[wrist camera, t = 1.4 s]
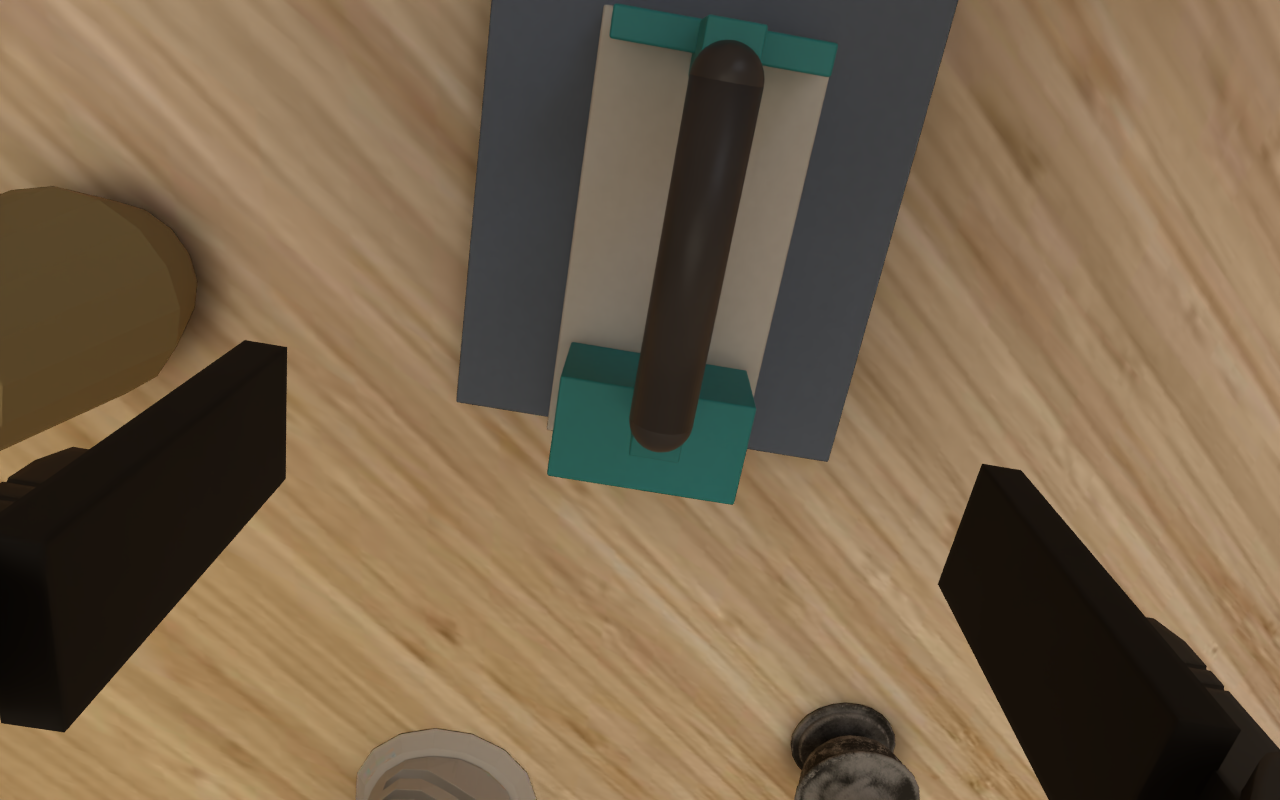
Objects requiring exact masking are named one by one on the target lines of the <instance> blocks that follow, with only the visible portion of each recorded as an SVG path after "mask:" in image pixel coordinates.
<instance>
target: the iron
mask: <svg viewBox="0 0 1280 800" xmlns="http://www.w3.org/2000/svg"><path fill="white" fill-rule="evenodd" d="M767 30H768V26H767V25H766V24H761V23H755V22H750V21H744V20H739V19H733V18H728V17H722V16H716V15H711V14H710V15H707V16H706V17H704V18H703V19H701V18H695V17H690V16H684V15H679V14H673V13H668V12H662V11H657V10H651V9H646V8H640V7H635V6H629V5H624V4H618V3H616V4H614V6H612V5H604V8H603V15H602V22H601V30H600V37H599V45H598V52H597V60H596V67H595V74H594V82H593V89H592V97H591V104H590V111H589V119H588V126H587V134H586V141H585V149H584V156H583V163H582V171H581V178H580V186H579V193H578V200H577V208H576V215H575V223H574V230H573V238H572V245H571V252H570V260H569V267H568V275H567V282H566V289H565V297H564V304H563V312H562V319H561V327H560V334H559V341H558V349H557V356H556V364H555V371H554V379H553V386H552V393H551V401H550V408H549V416H548V423H547V430H551V431H553V434H552V441H551V448H550V456H549V463H548V470H547V474H548V475H549V476H554V477H560V478H567V479H573V480H579V481H586V482H592V483H598V484H605V485H611V486H617V487H623V488H630V489H636V490H642V491H649V492H655V493H661V494H668V495H674V496H680V497H686V498H693V499H699V500H705V501H712V502H718V503H724V504H731V505H733V504H734V501H735V497H736V493H737V489H738V484H739V480H740V476H741V472H742V468H743V464H744V459H745V455H746V451H747V447H748V443H749V438H750V434H751V430H752V426H753V422H754V417H755V413H756V406H755V402H754V393H755V389H756V385H757V381H758V377H759V372H760V368H761V364H762V360H763V355H764V351H765V347H766V343H767V338H768V334H769V330H770V326H771V321H772V317H773V313H774V309H775V305H776V300H777V296H778V292H779V288H780V283H781V279H782V275H783V271H784V266H785V262H786V258H787V254H788V249H789V245H790V241H791V237H792V232H793V228H794V224H795V220H796V216H797V211H798V207H799V203H800V199H801V194H802V190H803V186H804V182H805V177H806V173H807V169H808V165H809V160H810V156H811V152H812V148H813V144H814V139H815V135H816V131H817V127H818V122H819V118H820V114H821V110H822V105H823V101H824V97H825V93H826V88H827V84H828V80H829V77H830V76H831V74H832V70H833V66H834V62H835V57H836V53H837V49H838V44H837V43H834V42H828V41H822V40H817V39H811V38H806V37H800V36H795V35H789V34H784V33H778V32H773V31H767Z"/></svg>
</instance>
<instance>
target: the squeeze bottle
mask: <svg viewBox="0 0 1280 800" xmlns="http://www.w3.org/2000/svg"><path fill="white" fill-rule="evenodd" d="M196 290H197V279H196V275H195V272H194V269H193V265H192V262H191V258H190V255H189V253H188V252H187V250H186V249H185V248H184V246H183V245H182V243H181V242H180V241H179V239H178V238H177V237H176V235H175V234H174V232H173V231H172V230H171V228H169V227H168V226H166V225H165V224H164V223H162V222H161V221H159V220H158V219H157V218H155V217H154V216H153V215H151V214H150V213H148V212H147V211H146V210H143V209H140V208H137V207H133V206H130V205H127V204H124V203H120V202H117V201H113V200H109V199H105V198H101V197H96V196H92V195H88V194H84V193H80V192H75V191H71V190H67V189H63V188H59V187H55V186H51V187H40V188H29V189H18V190H10V191H8V192H5V193H2V194H0V451H1V450H3V449H5V448H8V447H10V446H12V445H14V444H16V443H18V442H21V441H23V440H25V439H27V438H29V437H32V436H34V435H36V434H38V433H40V432H43V431H45V430H47V429H49V428H51V427H53V426H56V425H58V424H60V423H62V422H64V421H67V420H69V419H71V418H73V417H75V416H78V415H80V414H82V413H84V412H86V411H89V410H91V409H93V408H95V407H97V406H99V405H102V404H104V403H106V402H108V401H110V400H113V399H115V398H117V397H119V396H121V395H124V394H126V393H128V392H129V391H131V390H133V389H135V388H137V387H138V386H140V385H142V384H144V383H146V382H148V381H149V380H151V379H153V378H155V377H157V375H158V374H159V372H160V371H161V369H162V368H163V366H164V365H165V363H166V362H167V360H168V359H169V357H170V356H171V354H172V352H173V351H174V349H175V348H176V346H177V344H178V342H179V340H180V338H181V335H182V333H183V331H184V329H185V327H186V325H187V323H188V320H189V318H190V316H191V314H192V312H193V310H194V308H195V299H196Z"/></svg>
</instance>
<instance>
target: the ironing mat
mask: <svg viewBox="0 0 1280 800" xmlns="http://www.w3.org/2000/svg"><path fill="white" fill-rule="evenodd" d="M616 3H618V4H624V5H629V6H635V7H640V8H646V9H651V10H657V11H662V12H668V13H673V14H679V15H684V16H690V17H695V18H701V19H703V18H704V17H706V16H707V15H710V14H711V15H716V16H722V17H728V18H733V19H739V20H744V21H750V22H755V23H761V24H766V25H767V26H768V30H767V31H773V32H778V33H784V34H789V35H795V36H800V37H806V38H811V39H817V40H822V41H828V42H834V43H837V44H838V49H837V53H836V57H835V62H834V66H833V70H832V74H831V76H830V77H829V80H828V84H827V88H826V93H825V97H824V101H823V105H822V110H821V114H820V118H819V122H818V127H817V131H816V135H815V139H814V144H813V148H812V152H811V156H810V160H809V165H808V169H807V173H806V177H805V182H804V186H803V190H802V194H801V199H800V203H799V207H798V211H797V216H796V220H795V224H794V228H793V232H792V237H791V241H790V245H789V249H788V254H787V258H786V262H785V266H784V271H783V275H782V279H781V283H780V288H779V292H778V296H777V300H776V305H775V309H774V313H773V317H772V321H771V326H770V330H769V334H768V338H767V343H766V347H765V351H764V355H763V360H762V364H761V368H760V372H759V377H758V381H757V385H756V389H755V393H754V402H755V406H756V413H755V417H754V422H753V426H752V430H751V434H750V438H749V443H748V447H747V449H751V450H757V451H764V452H770V453H776V454H782V455H788V456H795V457H801V458H807V459H813V460H819V461H826V462H828V460H829V456H830V453H831V449H832V446H833V442H834V439H835V435H836V432H837V428H838V424H839V421H840V417H841V414H842V410H843V407H844V403H845V400H846V396H847V393H848V389H849V385H850V382H851V378H852V375H853V371H854V368H855V364H856V361H857V357H858V354H859V350H860V346H861V343H862V339H863V336H864V332H865V329H866V325H867V322H868V318H869V315H870V311H871V307H872V304H873V300H874V297H875V293H876V290H877V286H878V283H879V279H880V276H881V272H882V269H883V265H884V261H885V258H886V254H887V251H888V247H889V244H890V240H891V237H892V233H893V230H894V226H895V222H896V219H897V215H898V212H899V208H900V205H901V201H902V198H903V194H904V191H905V187H906V183H907V180H908V176H909V173H910V169H911V166H912V162H913V159H914V155H915V152H916V148H917V144H918V141H919V137H920V134H921V130H922V127H923V123H924V120H925V116H926V113H927V109H928V105H929V102H930V98H931V95H932V91H933V88H934V84H935V81H936V77H937V74H938V70H939V67H940V63H941V59H942V56H943V52H944V49H945V45H946V42H947V38H948V35H949V31H950V28H951V24H952V20H953V17H954V13H955V10H956V6H957V3H958V0H492V2H491V13H490V25H489V36H488V48H487V59H486V70H485V82H484V93H483V105H482V116H481V127H480V139H479V150H478V161H477V173H476V184H475V196H474V207H473V218H472V230H471V241H470V253H469V264H468V275H467V287H466V298H465V309H464V321H463V332H462V344H461V355H460V366H459V378H458V389H457V402H460V403H466V404H472V405H479V406H485V407H491V408H497V409H503V410H510V411H516V412H522V413H528V414H534V415H541V416H547V417H548V416H549V408H550V401H551V393H552V386H553V379H554V371H555V364H556V356H557V349H558V341H559V334H560V327H561V319H562V312H563V304H564V297H565V289H566V282H567V275H568V267H569V260H570V252H571V245H572V238H573V230H574V223H575V215H576V208H577V200H578V193H579V186H580V178H581V171H582V163H583V156H584V149H585V141H586V134H587V126H588V119H589V111H590V104H591V97H592V89H593V82H594V74H595V67H596V60H597V52H598V45H599V37H600V30H601V22H602V15H603V8H604V5H612V6H614V4H616Z"/></svg>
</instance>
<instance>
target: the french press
mask: <svg viewBox="0 0 1280 800" xmlns="http://www.w3.org/2000/svg"><path fill="white" fill-rule="evenodd" d="M356 800H536V797H535V794H534V791H533V788H532V786H531V783H530V780H529V777H528V775H527V773H526V772H525V771H524V770H523V769H522V768H521V767H520V766H519V764H518V763H517V762H516V761H515V760H514V759H513V758H512V757H511V756H510V755H509V754H508V753H507V752H506V751H505V750H503V749H501V748H499V747H497V746H495V745H493V744H491V743H489V742H487V741H485V740H483V739H481V738H479V737H477V736H474V735H472V734H467V733H460V732H453V731H447V730H440V729H430V730H424V731H418V732H411V733H405V734H400V735H398V736H396V737H394V738H393V739H391V740H389V741H387V742H386V743H384V744H382V745H380V746H379V747H377V748H375V749H373V750H372V752H371V753H370V755H369V756H368V758H367V759H366V761H365V762H364V764H363V765H362V766H361V768H360V769H359V771H358V772H357V786H356Z"/></svg>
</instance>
